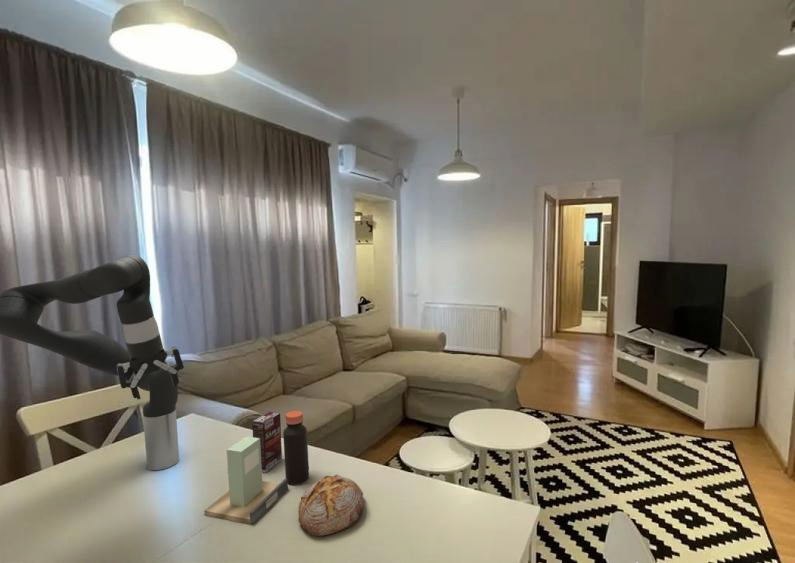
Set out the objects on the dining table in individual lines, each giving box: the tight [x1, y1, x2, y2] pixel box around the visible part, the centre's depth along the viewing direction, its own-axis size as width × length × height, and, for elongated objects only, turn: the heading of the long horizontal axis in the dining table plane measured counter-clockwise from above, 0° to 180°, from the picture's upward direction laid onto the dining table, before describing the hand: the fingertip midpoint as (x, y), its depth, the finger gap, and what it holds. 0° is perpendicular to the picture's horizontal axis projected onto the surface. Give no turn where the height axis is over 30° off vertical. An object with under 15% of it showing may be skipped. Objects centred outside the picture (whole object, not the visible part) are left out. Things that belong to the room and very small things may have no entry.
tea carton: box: [226, 436, 263, 507], centre depth 113 cm, size 4×8×15 cm, turn 163°
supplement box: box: [251, 411, 283, 473], centre depth 132 cm, size 9×5×16 cm, turn 160°
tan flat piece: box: [204, 478, 289, 525], centre depth 114 cm, size 15×16×3 cm
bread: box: [298, 474, 365, 537], centre depth 107 cm, size 16×20×10 cm
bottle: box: [282, 410, 310, 486], centre depth 124 cm, size 7×7×20 cm
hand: (157, 391), depth 109 cm, fingers open, 8 cm apart
